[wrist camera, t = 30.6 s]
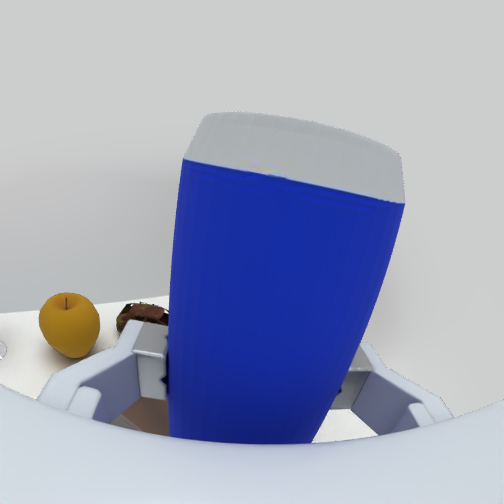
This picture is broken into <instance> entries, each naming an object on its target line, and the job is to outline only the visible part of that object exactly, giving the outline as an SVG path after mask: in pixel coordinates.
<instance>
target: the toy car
mask: <svg viewBox="0 0 504 504" xmlns="http://www.w3.org/2000/svg"><path fill="white" fill-rule="evenodd" d="M141 303H143V302H140V304H138V303H130V304H126V306H125V307H124V308H123V310H122V311H121V313H120V314H119V315H118V317H117V320H116V321H117V324H116V327H117V331H118V332H119V333H120V334H121V333H122V331H123V329H124V328H125V326H126V324H127V322H128V321H129V320H137V321H142V322H147V323H148V322H149V323H153V324H155V323H156V324H158V325H159V324H160V325H164V326H168V321H169V314H167V313H164V308H162V307H160V306H159V307H158V306H157V305H156V306H154V304H152V305H150V304H147V303H145V304H141ZM131 304H134V305H133V306H130V305H131ZM165 310H166V309H165ZM167 311H168V310H167ZM168 312H169V311H168Z"/></svg>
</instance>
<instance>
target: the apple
mask: <svg viewBox="0 0 504 504" xmlns="http://www.w3.org/2000/svg"><path fill="white" fill-rule="evenodd" d="M39 326H40V329H41V331H42V333H43V335H44V337H45V339H46V340H47V342H48V343H49V344H50V345H51V346H52V347H53V348H54V349H56V350H57V351H59V352H60V353H62V354H63V355H65V356H67V357H69V358H80V357H83V356H85V355H86V354H87V353H88V352H89V351H90V350H91V348H92V347H93V345H94V344H95V342H96V340H97V338H98V334H99V331H100V319H99V314H98V312H97V310H96V309H95V307H94V306H93V304H92V303H91V302H90V301H89V300H88V299H87V298H86V297H84V296H82V295H79V294H75V293H59V294H57V295H54V296H52V297H51V298H49V299H48V300H47V301H46V303H45V304H44V305H43V307H42V308H41V310H40V314H39Z"/></svg>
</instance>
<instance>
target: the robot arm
mask: <svg viewBox="0 0 504 504" xmlns="http://www.w3.org/2000/svg"><path fill="white" fill-rule="evenodd" d="M140 396H141V397H147V398H153V399H160V400H167V396H168V326H164V325H158V324H153V323H147V322H142V321H137V320H129V321H128V322H127V324H126V326H125V328H124V329H123V331H122V333H121V335H120V337H119V339H118V341H117V343H116V345H115V347H114V348H111V347H109V348H107V349H105V350H103V351H101V352H99V353H97V354H95V355H92V356H90V357H88V358H86V359H84V360H82V361H80V362H78V363H75V364H73V365H71V366H69V367H67V368H65V369H63V370H61V371H58V372H56V373H54V374H52V375H51V377H50V378H49V380H48V382H47V383H46V385H45V386H44V388H43V390H42V391H41V393H40V395H39V396H38V398H37V400H35V399H33V398H30V397H28V396H25V395H23V394H21V393H19V392H16V391H14V390H12V389H10V388H8V387H6V386H4V385H2V384H0V504H504V399H503V400H501V401H499V402H496V403H494V404H491V405H489V406H486V407H483V408H481V409H478V410H475V411H472V412H470V413H467V414H464V415H461V416H458V417H454V416H453V414H452V413H451V412H450V410H449V409H448V407H447V406H446V405H445V403H444V402H443V400H442V399H441V398H440V397H439V396H437V395H435V394H434V393H432V392H430V391H428V390H427V389H424V388H423V387H421V386H420V385H418V384H416V383H414V382H413V381H411V380H409V379H407V378H406V377H404V376H402V375H401V374H399V373H397V372H395V371H394V370H392V369H387V367H386V366H385V364H384V363H383V361H382V360H381V358H380V357H379V355H378V354H377V352H376V351H375V349H374V348H373V346H372V345H371V344H370V343H369V342H360V345H359V347H358V349H357V352H356V354H355V356H354V359H353V361H352V363H351V365H350V368H349V370H348V372H347V374H346V376H345V379H344V381H343V383H342V385H341V387H340V389H339V391H338V393H337V395H336V397H335V399H334V401H333V403H332V405H331V407H330V409H329V410H332V409H351V411H352V412H353V413H355V414H356V415H357V416H358V417H359V418H360V419H361V420H362V421H363V422H364V423H366V424H367V425H368V426H369V427H370V428H371V429H372V430H373V431H374V432H376V433H377V434H378V435H379V436H373V437H367V438H360V439H352V440H344V441H334V442H323V443H308V444H235V443H220V442H208V441H199V440H190V439H182V438H175V437H169V436H163V435H157V434H151V433H146V432H141V431H136V430H132V429H127V428H123V427H119V426H115V425H111V424H109V423H110V422H111V421H113V420H114V419H115V418H116V417H118V416H119V415H120V414H121V413H122V412H124V411H125V410H126V409H127V408H128V407H130V406H131V405H132V404H133V403H134V402H136V401H137V400H138V399H139V398H140Z"/></svg>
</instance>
